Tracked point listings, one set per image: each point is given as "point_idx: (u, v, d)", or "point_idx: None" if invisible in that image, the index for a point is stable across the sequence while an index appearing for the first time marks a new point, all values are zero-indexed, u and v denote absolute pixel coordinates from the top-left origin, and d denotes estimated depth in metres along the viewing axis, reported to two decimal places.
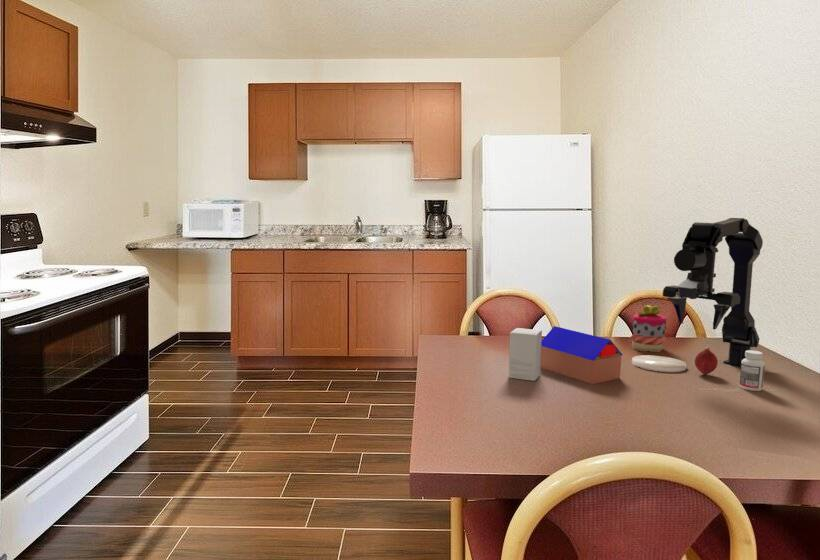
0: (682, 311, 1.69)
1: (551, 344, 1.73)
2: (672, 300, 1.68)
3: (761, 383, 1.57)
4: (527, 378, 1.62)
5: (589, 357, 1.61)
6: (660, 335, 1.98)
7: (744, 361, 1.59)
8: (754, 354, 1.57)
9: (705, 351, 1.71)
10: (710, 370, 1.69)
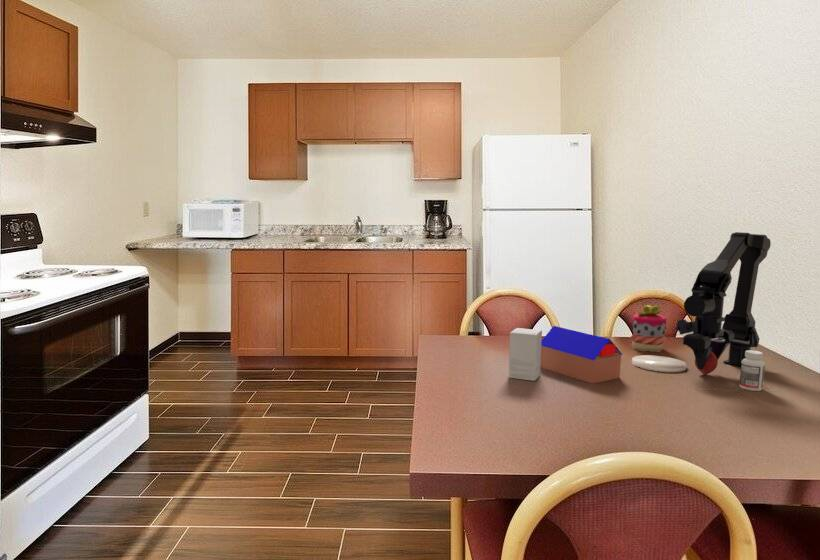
0: None
1: (551, 344, 1.73)
2: None
3: (761, 383, 1.57)
4: (527, 378, 1.62)
5: (589, 356, 1.61)
6: (660, 335, 1.98)
7: (744, 361, 1.59)
8: (754, 354, 1.57)
9: None
10: (710, 370, 1.69)
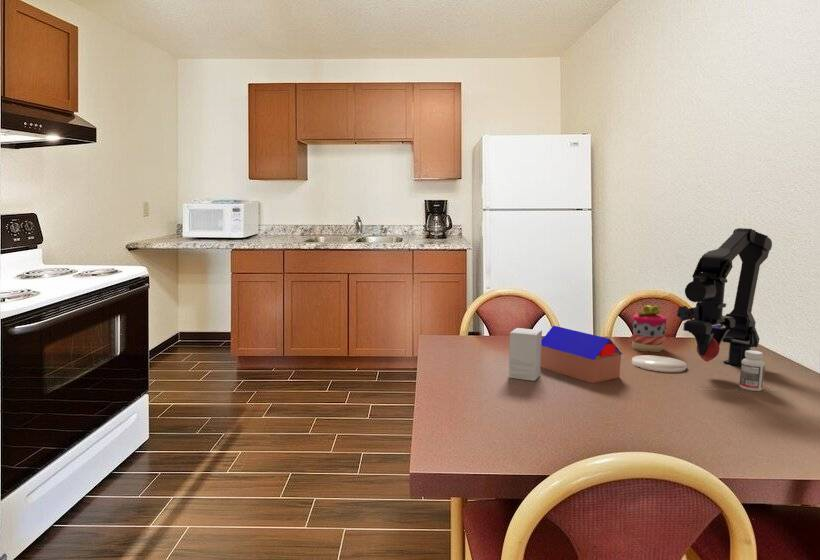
0: None
1: (551, 343, 1.73)
2: None
3: (761, 383, 1.57)
4: (527, 378, 1.62)
5: (589, 356, 1.61)
6: (660, 335, 1.98)
7: (744, 361, 1.59)
8: (754, 354, 1.57)
9: None
10: (712, 356, 1.69)
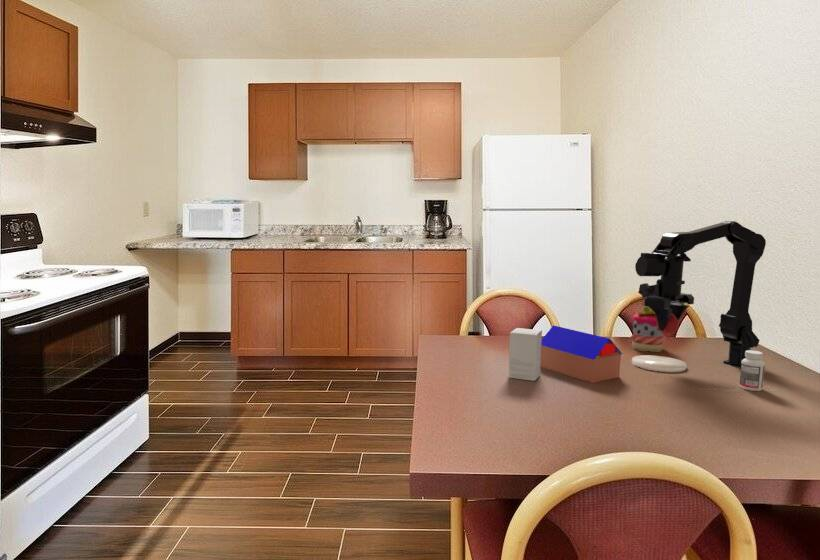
0: None
1: (551, 343, 1.74)
2: None
3: (761, 383, 1.57)
4: (527, 378, 1.62)
5: (589, 356, 1.62)
6: (660, 335, 1.98)
7: (744, 361, 1.59)
8: (754, 354, 1.57)
9: None
10: (671, 331, 1.76)
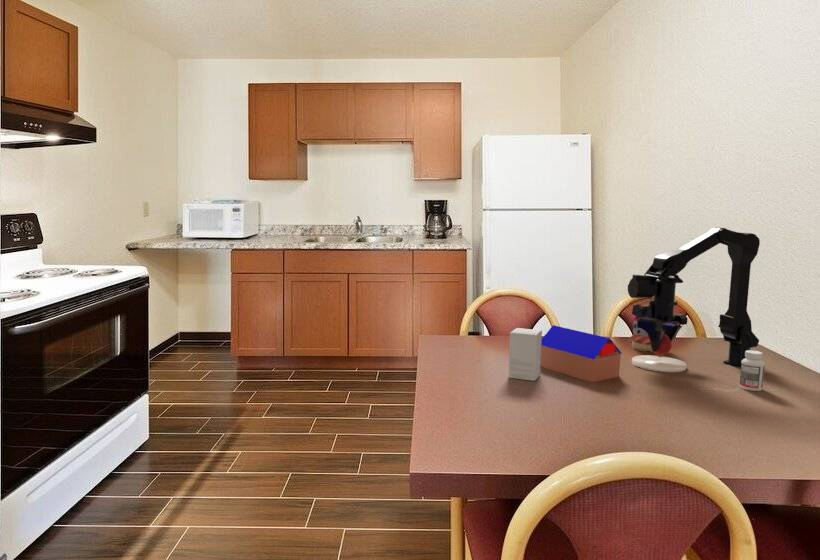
0: None
1: (550, 343, 1.74)
2: None
3: (761, 383, 1.57)
4: (527, 378, 1.62)
5: (589, 355, 1.62)
6: None
7: (744, 361, 1.59)
8: (754, 354, 1.57)
9: None
10: (664, 352, 1.78)
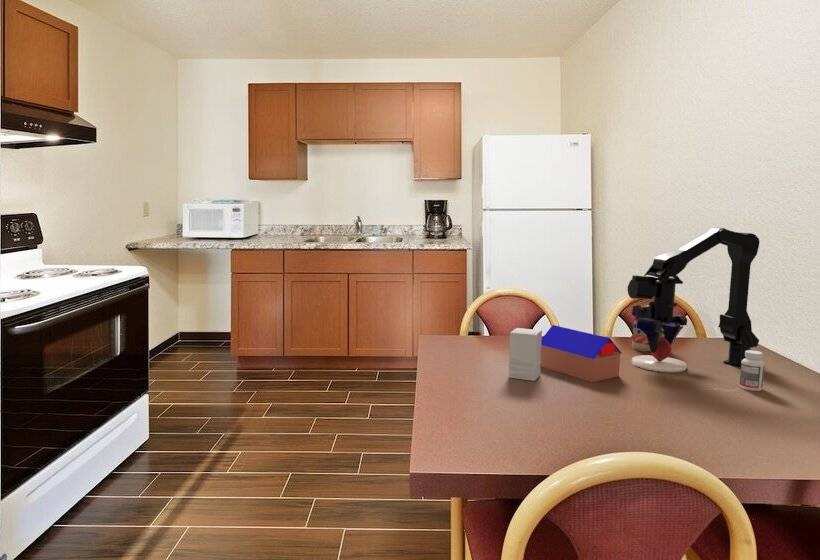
0: (668, 338, 1.82)
1: (550, 343, 1.74)
2: None
3: (761, 383, 1.57)
4: (527, 378, 1.62)
5: (589, 355, 1.62)
6: None
7: (744, 361, 1.59)
8: (754, 354, 1.57)
9: (660, 339, 1.79)
10: (664, 357, 1.78)
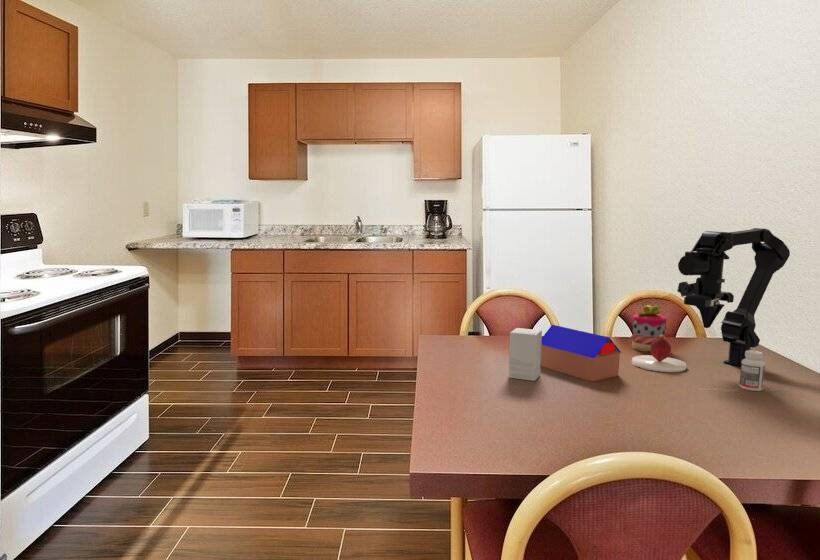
0: None
1: (550, 342, 1.75)
2: None
3: (761, 383, 1.57)
4: (527, 378, 1.62)
5: (589, 354, 1.63)
6: None
7: (744, 361, 1.59)
8: (754, 354, 1.57)
9: (659, 339, 1.79)
10: (664, 357, 1.78)
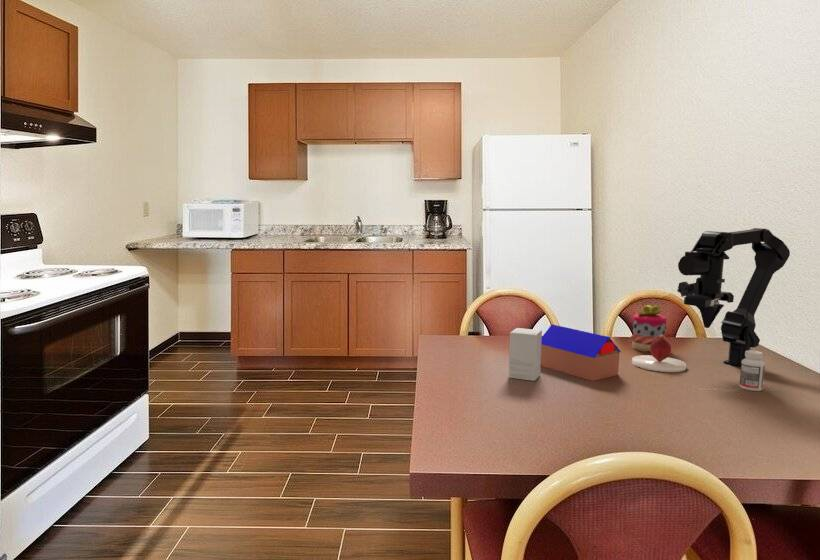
0: None
1: (550, 342, 1.75)
2: None
3: (761, 383, 1.57)
4: (527, 378, 1.62)
5: (589, 354, 1.64)
6: None
7: (744, 361, 1.59)
8: (754, 354, 1.57)
9: (659, 339, 1.79)
10: (664, 357, 1.78)
